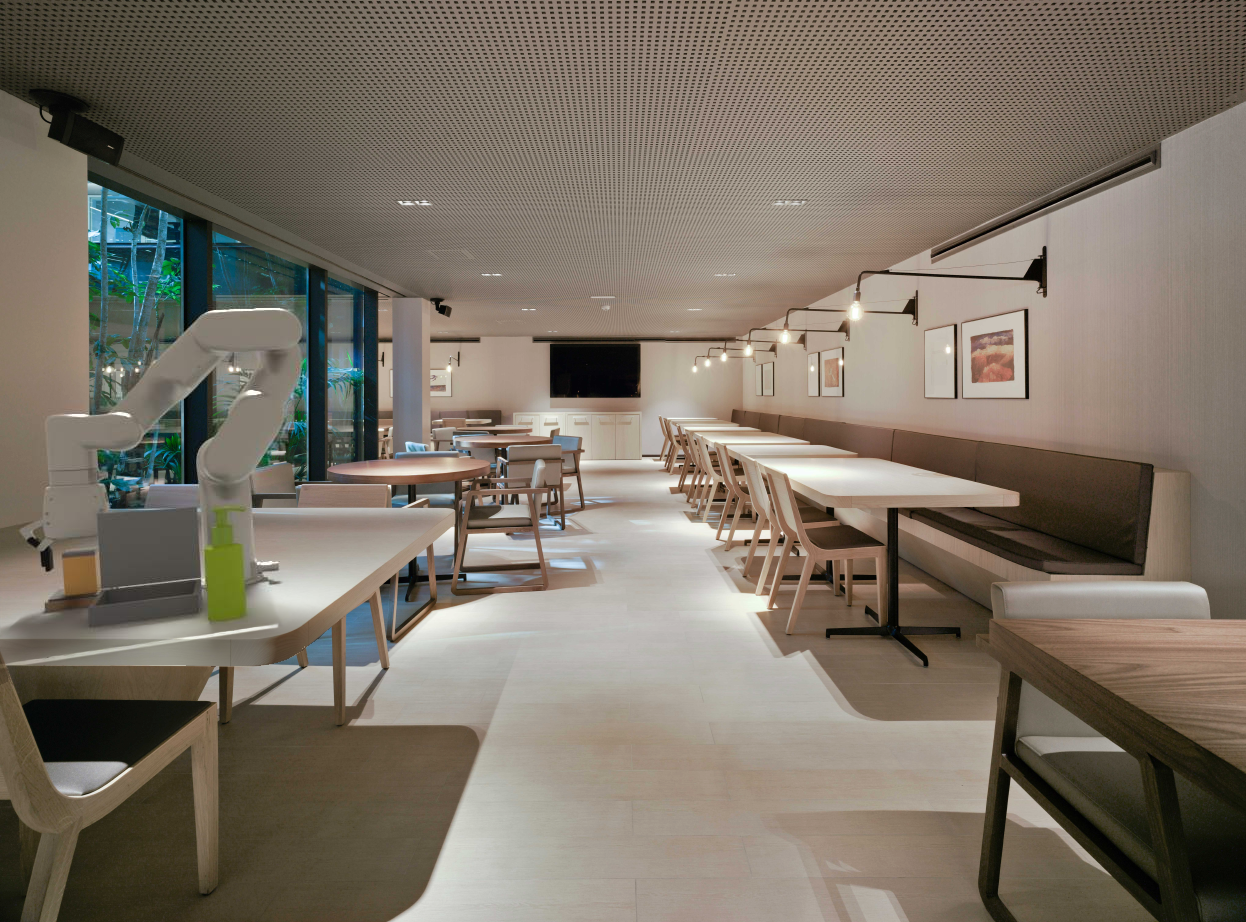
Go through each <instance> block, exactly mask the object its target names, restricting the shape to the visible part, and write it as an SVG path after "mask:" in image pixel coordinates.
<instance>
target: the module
mask: <svg viewBox="0 0 1246 922" xmlns="http://www.w3.org/2000/svg"><path fill="white" fill-rule="evenodd" d="M61 561H62V575H63V587H64V588H63V589H64V590H65V596H69V595H78V594H86V593H95V592H98V591H99V590H100V588H101V576H100V559H99V546H97V547H96V546H94V547H93V546H92V547H82V548H71V549H70V548H69V549H66V550H65V551H64V552H62V553H61Z"/></svg>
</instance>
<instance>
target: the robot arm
mask: <svg viewBox="0 0 1246 922" xmlns="http://www.w3.org/2000/svg"><path fill="white" fill-rule="evenodd" d="M302 334H303V327H302V324H301V322H300V319H299V318H298V317H297V316H296V315H295V314H294V313H292V312H291V311H290V310H287V309H283V308H278V307H277V308H273V307H272V308H254V309H228V310H227V309H221V310H219V309H217V310H210V311H207V312H205V313H203V314H201V315H200V316H199V317H198V318H197V319H196V320H195V321H194V322H193V323H192V324H191V325H190V326H189V327H188V328H187V329H186V330H185V331H184V332H183V333H182V334H181V335H180V336H179V337H178V338H177V339H176V340H175V341H174V342H173V343H172V344H171V345H170V346H169V347H168V348H167V349H166V350H165V351H164V352H163V353H162V354H161V355H159V357H158V358H156V360H155V361H154V362H152V364H151V365H150V366H149V368H147V370H146V371H145V373H144V374H143V376H142V377H141V378H140V379H139V381H138V382H137V383H136V384H135V385H134V386H133V388H132V389H130V390H129V392H127V394H126V395H125V396H124V397H123V398H122V399H121V400H120V401H119V402H118V403H117V404H116V405H114V407H113V408H112V409H110V411H109V412H107V413H104V414H94V415H92V414H91V415H89V414H77V413H76V414H75V413H74V414H73V413H71V414H66V413H65V414H53V415H50V416H48V417H47V418H45V421H44V429H45V430H44V431H45V441H46V454H47V467H48V468H47V469H48V478H49V479H48V480H49V486H47V487H46V488H45V490H44V496H43V505H42V507H43V508H42V509H43V510H42V517H41V518H40V519H38V520H36V521H33V522H31V523H30V524H27V525H25V526H23V527H22V528H20V529H19V533H20V534H21V536H22V537H23V538H24V539H25V540H26V542H27V543H28V544H29V545H30V546H32V547H34V548H35V549H37V551H38V552H40V553H39V554H40V555H39V556H40V564H41V566H40V567H41V568H44V571H45V573H48V572H51V571H52V570H53V569H54V568H55V567H54V565H55V564H54V554H53V553H54V552H53V548H51V545H52V543H53V542H54V541H58V540H59V541H60V540H72V539H85V538H86V539H87V538H94V537H95V538H98V525H97V514H101V513H111V508H110V500H109V497H108V492H107V487H106V485H105V484H104V483H100V481H101V480H104V479H108V478H109V474H108V471H103V470H100V468H99V463H98V460H99V459H98V451H99V450H100V451H113V452H126V451H129V450H132V449H134V448H136V447H137V446H138V445H139V444H140V443H141V442H142V440H143V438H144V435H146V433H148V431H150V430H151V428H152V427H153V426H155V424H156V423H157V422H158V421H159V420H160V419H162V417H163V416H164V415H165V414H166V413H168V411H170V409H172V408H173V407H174V406H175V405H177V404H178V403H179V402H181V401H183V400H184V399H186V398H187V397H188V396H189V395H190V394H191V393H192V392H193V391H194V390H195V389H196V388H197V387H198V386H199V384H201V383H202V381H204V380H205V379H206V377H208V375H209V374H210V373H211V372H212V371H213V370H214V369H215V368H216V367H217V366H218V365H219V364H220V363H221V362H222V361H223V360H224V359H225V357H226V356H228V354H229V353H241V352H243V353H246V352H259V362H258V364H257V366H256V368H255V369H254V370H253V373H252V375H251V376H250V378H249V379H248V381H247V382H246V384H245V385H244V387H243V388H242V389H241V391H240V392H239V394H238V395H237V396H236V398H235V399H234V400H233V401H232V402H231V404H230V405H229V408H228V411H227V417H226V419H225V420H224V422H223V423H222V424H221V426H220V428H219V430H217V433H216V434H215V435H214V436H213V437H211V438H209V439H207V440H206V441H205V442H204V443H202V445H201V446H200V447H199V449H198V450H197V451H198V452H197V454H196V461H195V462H196V473H197V480H198V481H197V482H198V490H199V491H198V492H199V501H200V502H199V503H200V518H201V519H200V521H201V523H200V524H201V534H202V537H201V539H202V551H203V564H204V565H203V568H204V577H203V578H200V579H201V587H202V589H205V590H207V587H206V571H205V555H204V548H205V547H207V546H210V545H212V533H211V527H213V526H214V525H217V523H216V512H213V513H211V509H213V508H218V507H226V506H239V507H245V508H247V509H246V510H245V511H243V512H242V511H227V522H228V524H230V525H233V530H234V543H240V544H242V546H243V563H244V580H245V586H248V585H252V584H256V583H259V582H261V581H263V580H264V578H265V576H264V573H266V572H267V573H268V572H278V571H280V566H279V561H276V562H275V561H274V562H273V561H268V562H267V561H266V562H263V561H262V562H260V561H258V560H257V557H255V556H256V555H255V539H254V524H253V522H254V520H253V519H254V518H253V502H252V499H253V498H252V489H251V488H252V487H251V481H250V479H251V478H250V475H252V474H253V472H254V471H255V469H256V468H257V466H258V465H259V463H260V462H261V461H262V458H263V457H264V455H265V454H266V453H267V451H268V449H269V448H270V447H271V445H272V444H273V442H274V440H275V438H276V437H277V435H278V434H279V431H280V430H281V428H282V427H283V426H282V425H283V423H284V418H285V414H284V413H285V412H284V406H285V404H286V403H287V401H288V400H289V398H290V396H291V394H292V392H293V391H294V389H295V388H296V385H297V384H298V381H299V380H300V377H301V374H302V369H303V357H302V356H303V355H302V351H301V348H300V345H299V344H298V343H299V341H300V340H301V338H302V336H303V335H302ZM41 527H42V530H43V536H44V537H45V538H44V539H43V540H41V539H40V538H39V537H37V536H35V533H33V531H34V530H36V529H39V528H41Z"/></svg>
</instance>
